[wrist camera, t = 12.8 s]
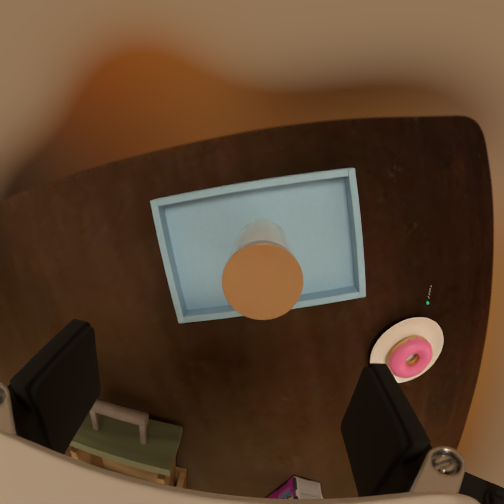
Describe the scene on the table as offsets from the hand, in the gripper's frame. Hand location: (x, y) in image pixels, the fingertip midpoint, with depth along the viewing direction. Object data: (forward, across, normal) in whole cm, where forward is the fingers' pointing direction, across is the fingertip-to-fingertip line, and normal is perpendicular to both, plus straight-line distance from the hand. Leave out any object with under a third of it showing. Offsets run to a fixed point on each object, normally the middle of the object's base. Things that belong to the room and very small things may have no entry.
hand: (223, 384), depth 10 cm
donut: (+18, -18, +6) cm, 26 cm away
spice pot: (+18, -2, -1) cm, 18 cm away
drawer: (+17, +10, +25) cm, 32 cm away
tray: (+18, -1, -1) cm, 18 cm away
